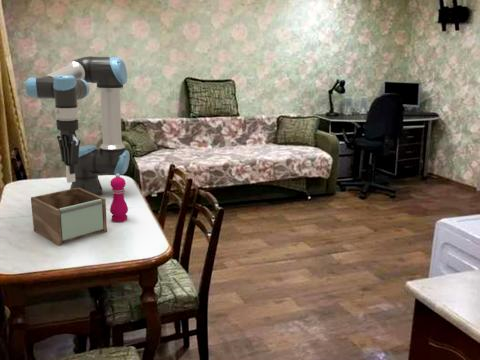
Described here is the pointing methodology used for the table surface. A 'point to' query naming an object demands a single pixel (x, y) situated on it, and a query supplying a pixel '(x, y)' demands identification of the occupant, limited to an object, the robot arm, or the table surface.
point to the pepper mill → (118, 200)
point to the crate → (49, 214)
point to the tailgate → (81, 219)
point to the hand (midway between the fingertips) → (71, 181)
